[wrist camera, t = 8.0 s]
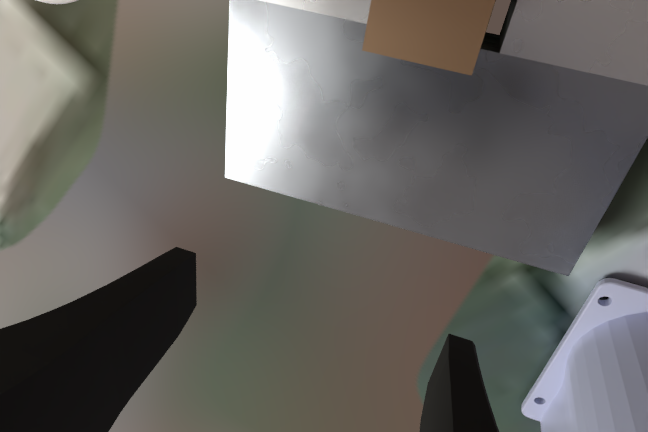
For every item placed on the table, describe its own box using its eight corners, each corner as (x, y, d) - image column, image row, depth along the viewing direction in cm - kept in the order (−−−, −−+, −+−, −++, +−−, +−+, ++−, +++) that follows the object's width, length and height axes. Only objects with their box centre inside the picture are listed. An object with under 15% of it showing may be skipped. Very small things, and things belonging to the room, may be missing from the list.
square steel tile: (561, 238, 20) (568, 276, 18) (249, 152, 23) (225, 177, 21) (852, -313, 11) (930, -360, 9) (279, -363, 13) (240, -410, 11)
